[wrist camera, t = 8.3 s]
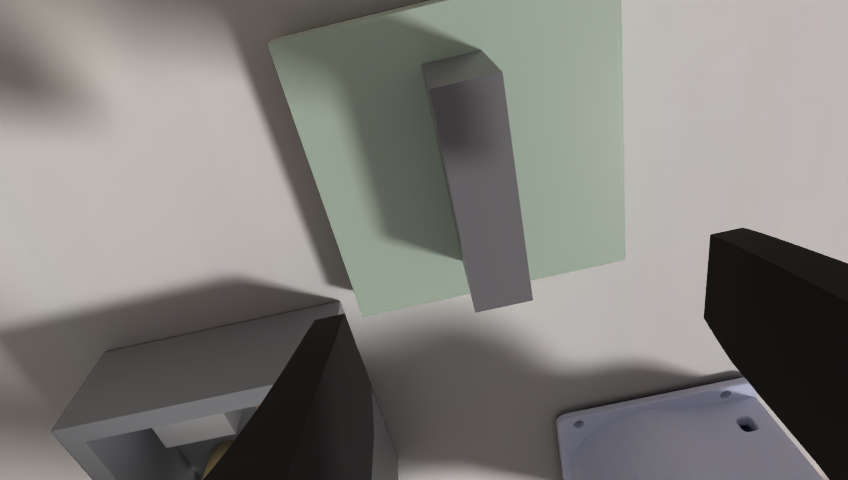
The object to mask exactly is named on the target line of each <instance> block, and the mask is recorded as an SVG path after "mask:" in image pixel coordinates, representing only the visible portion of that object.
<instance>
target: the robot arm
mask: <svg viewBox="0 0 848 480" xmlns="http://www.w3.org/2000/svg"><path fill="white" fill-rule="evenodd" d="M704 319H705V320H706V322H707V324H708V325H709V327H710V329H711V330H712V332H713V333H714V335H715V337H716V338H717V340H718V342H719V343H720V345H721V346H722V348H723V349H724V351H725V352H726V354H727V355H728V357H729V358H730V360H731V361H732V363H733V364H734V365H735V366H736V368H737V369H738V370H739V371H740V373H741V374H742V375H743V376H744V377H743V378H738V379H733V380H728V381H723V382H718V383H713V384H708V385H703V386H698V387H693V388H688V389H684V390H679V391H674V392H669V393H664V394H659V395H654V396H649V397H644V398H639V399H634V400H630V401H625V402H620V403H615V404H610V405H605V406H600V407H595V408H590V409H585V410H580V411H576V412H571V413H566V414H563V415H561V416H559V417H558V419H557V420H556V426H557V435H558V443H559V451H560V460H561V468H562V477H563V480H824V479H823V478H822V477H821V476H820V474H819V473H818V472H817V471H816V470H815V468H814V467H813V466H812V465H811V464H810V462H809V461H808V460H807V459H806V458H805V456H804V455H803V454H802V453H801V452H800V450H799V449H798V448H797V447H796V445H795V444H794V443H793V442H792V441H791V439H790V438H789V437H788V436H787V435H786V433H785V432H784V431H783V430H782V429H781V427H780V426H779V425H778V424H777V423H776V421H775V420H774V419H773V418H772V417H771V415H770V414H769V413H768V412H767V410H766V409H765V408H764V407H763V406H762V404H761V403H760V402H759V401H758V400H757V398H756V397H755V394H756V392H757V393H758V394H759V395H760V397H761V398H762V399H763V400H764V401H765V402H766V404H767V405H768V406H769V407H770V408H771V410H772V411H773V412H774V413H775V414H776V415H777V417H778V418H779V419H780V420H781V421H782V423H783V424H784V425H785V426H786V427H787V428H788V430H789V431H790V432H791V433H792V434H793V436H794V437H795V438H796V439H797V440H798V441H799V443H800V444H801V445H802V446H803V447H804V449H805V450H806V451H807V452H808V453H809V454H810V456H811V457H812V458H813V459H814V460H815V461H816V463H817V464H818V465H819V467H820V468H821V469H822V470H823V472H824V473H825V474H826V475H827V477H828V478H829V479H830V480H848V263H845V262H842V261H839V260H836V259H834V258H831V257H828V256H825V255H822V254H820V253H817V252H814V251H811V250H808V249H806V248H803V247H800V246H797V245H794V244H792V243H789V242H786V241H783V240H780V239H777V238H774V237H772V236H769V235H765V234H762V233H759V232H756V231H753V230H749V229H745V228H739V229H735V230H730V231H725V232H721V233H716V234H711V235H710V247H709V260H708V272H707V285H706V297H705V310H704ZM373 448H374V419H373V401H372V387H371V384H370V381H369V378H368V376H367V373H366V370H365V368H364V365H363V362H362V359H361V357H360V354H359V351H358V349H357V346H356V343H355V340H354V338H353V335H352V332H351V329H350V327H349V324H348V321H347V319H346V316H345V313H344V314H340V315H335V316H330V317H326V318H321V319H317V320H314V322H313V323H312V325H311V326H310V328H309V330H308V331H307V333H306V334H305V336H304V337H303V339H302V340H301V342H300V344H299V345H298V347H297V348H296V350H295V352H294V353H293V355H292V357H291V358H290V360H289V361H288V363H287V364H286V366H285V368H284V369H283V371H282V372H281V374H280V375H279V377H278V378H277V380H276V381H275V383H274V385H273V386H272V388H271V389H270V391H269V392H268V394H267V395H266V397H265V398H264V400H263V401H262V403H261V404H260V406H259V407H258V409H257V410H256V411H255V413H254V414H253V416H252V417H251V418H250V420H249V421H248V422H247V424H246V425H245V427H244V428H243V429H242V431H241V432H240V433H239V435H238V436H237V438H236V439H235V440H234V442H233V443H232V444H231V446H230V447H229V448H228V450H227V451H226V452H225V453H224V455H223V456H222V457H221V458H220V460H219V461H218V462H217V463H216V465H215V466H214V467H213V468H212V470H211V471H210V472H209V473H208V474H207V475H206V477H205V478H204V479H203V480H371V479H372V464H373Z"/></svg>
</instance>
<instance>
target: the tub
mask: <svg viewBox="0 0 848 480" xmlns="http://www.w3.org/2000/svg"><path fill="white" fill-rule="evenodd" d="M340 314H344V311H343V308H342V305H341V302H340V301H338V302H333V303H328V304H324V305H319V306H315V307H310V308H305V309H301V310H296V311H292V312H287V313H282V314H278V315H273V316H269V317H264V318H259V319H255V320H250V321H246V322H241V323H236V324H232V325H227V326H222V327H218V328H213V329H209V330H204V331H199V332H195V333H190V334H186V335H181V336H176V337H172V338H167V339H163V340H158V341H153V342H149V343H144V344H140V345H135V346H130V347H126V348H121V349H117V350H112V351H107V352H104V354H103V355H102V357H101V358H100V360H99V361H98V363H97V364H96V366H95V367H94V368H93V370H92V371H91V373H90V374H89V376H88V377H87V379H86V380H85V382H84V383H83V385H82V386H81V388H80V389H79V391H78V392H77V393H76V395H75V396H74V398H73V399H72V401H71V402H70V404H69V405H68V407H67V408H66V410H65V411H64V413H63V414H62V416H61V417H60V418H59V420H58V421H57V423H56V424H55V426H54V427H53V429H52V430H51V432H52V434H53V435H54V436H55V437H56V438H57V439H58V441H59V442H60V443H61V444H62V445H63V446H64V447H65V449H66V450H67V451H68V452H69V453H70V454H71V456H72V457H73V458H74V459H75V460H76V461H77V462H78V464H79V465H80V466H81V467H82V468H83V469H84V471H85V472H86V473H87V474H88V475H89V476H90V477H91V479H92V480H203V479H204V478H205V477H206V475H207V474H208V473H209V472H210V471H211V470H212V468H213V467H214V466H215V465H216V463H217V462H218V461H219V460H220V458H221V457H222V456H223V455H224V453H225V452H226V451H227V450H228V448H229V447H230V446H231V444H232V443H233V442H234V440H235V439H236V438H237V436H238V435H239V433H240V432H241V431H242V429H243V428H244V427H245V425H246V424H247V422H248V421H249V420H250V418H251V417H252V416H253V414H254V413H255V411H256V410H257V409H258V407H259V406H260V404H261V403H262V401H263V400H264V398H265V397H266V395H267V394H268V392H269V391H270V389H271V388H272V386H273V385H274V383H275V381H276V380H277V378H278V377H279V375H280V374H281V372H282V371H283V369H284V368H285V366H286V364H287V363H288V361H289V360H290V358H291V357H292V355H293V353H294V352H295V350H296V348H297V347H298V345H299V344H300V342H301V340H302V339H303V337H304V336H305V334H306V333H307V331H308V330H309V328H310V326H311V325H312V323H313V322H314V320H317V319H321V318H326V317H330V316H335V315H340ZM371 387H372V386H371ZM372 401H373V419H374V448H373V464H372V479H371V480H398V457H397V454H396V452H395V449H394V446H393V443H392V441H391V438H390V435H389V433H388V430H387V427H386V424H385V422H384V419H383V416H382V414H381V411H380V408H379V405H378V403H377V400H376V397H375V395H374V392H373V389H372Z"/></svg>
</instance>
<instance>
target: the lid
mask: <svg viewBox="0 0 848 480" xmlns="http://www.w3.org/2000/svg"><path fill="white" fill-rule="evenodd" d="M267 45H268V48H269V51H270V54H271V57H272V59H273V62H274V65H275V68H276V71H277V74H278V77H279V79H280V82H281V85H282V88H283V91H284V94H285V97H286V99H287V102H288V105H289V108H290V111H291V114H292V116H293V119H294V122H295V125H296V128H297V131H298V134H299V136H300V139H301V142H302V145H303V148H304V151H305V154H306V156H307V159H308V162H309V165H310V168H311V171H312V173H313V176H314V179H315V182H316V185H317V188H318V191H319V193H320V196H321V199H322V202H323V205H324V208H325V211H326V213H327V216H328V219H329V222H330V225H331V228H332V231H333V233H334V236H335V239H336V242H337V245H338V248H339V250H340V253H341V256H342V259H343V262H344V265H345V268H346V270H347V273H348V276H349V279H350V282H351V285H352V288H353V290H354V293H355V296H356V299H357V302H358V305H359V308H360V310H361V313H362V316H363V317H365V316H370V315H374V314H379V313H384V312H388V311H393V310H397V309H402V308H407V307H411V306H416V305H420V304H425V303H429V302H434V301H439V300H443V299H448V298H452V297H457V296H462V295H466V294H471V297H472V301H473V305H474V308H475V312H480V311H485V310H490V309H494V308H499V307H503V306H508V305H513V304H517V303H522V302H527V301H531V300H533V298H532V290H531V283H530V280H535V279H540V278H544V277H549V276H553V275H558V274H563V273H567V272H572V271H576V270H581V269H586V268H590V267H595V266H599V265H604V264H609V263H613V262H618V261H622V260H625V203H624V144H623V84H622V24H621V0H430V1H425V2H421V3H417V4H413V5H409V6H405V7H401V8H397V9H393V10H388V11H384V12H380V13H376V14H372V15H368V16H364V17H360V18H356V19H351V20H347V21H343V22H339V23H335V24H331V25H327V26H323V27H319V28H314V29H310V30H306V31H302V32H298V33H294V34H290V35H286V36H282V37H277V38H273V39H272V40H271V41H270V42H269V43H268V44H267Z"/></svg>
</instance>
